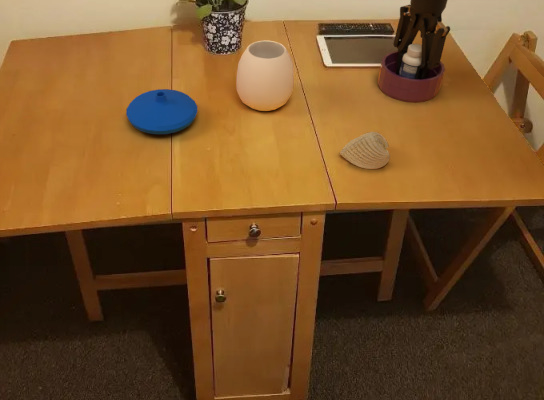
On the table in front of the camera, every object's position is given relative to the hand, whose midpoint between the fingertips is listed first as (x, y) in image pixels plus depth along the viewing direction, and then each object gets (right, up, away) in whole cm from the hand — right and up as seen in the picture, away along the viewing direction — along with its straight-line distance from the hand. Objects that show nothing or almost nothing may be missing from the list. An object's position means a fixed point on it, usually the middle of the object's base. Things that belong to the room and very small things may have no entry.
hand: (408, 83), depth 140 cm
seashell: (-15, -19, -19) cm, 31 cm away
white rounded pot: (-35, -5, -4) cm, 36 cm away
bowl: (0, -1, +1) cm, 1 cm away
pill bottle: (0, 0, 0) cm, 1 cm away
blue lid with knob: (-58, -11, -9) cm, 60 cm away
